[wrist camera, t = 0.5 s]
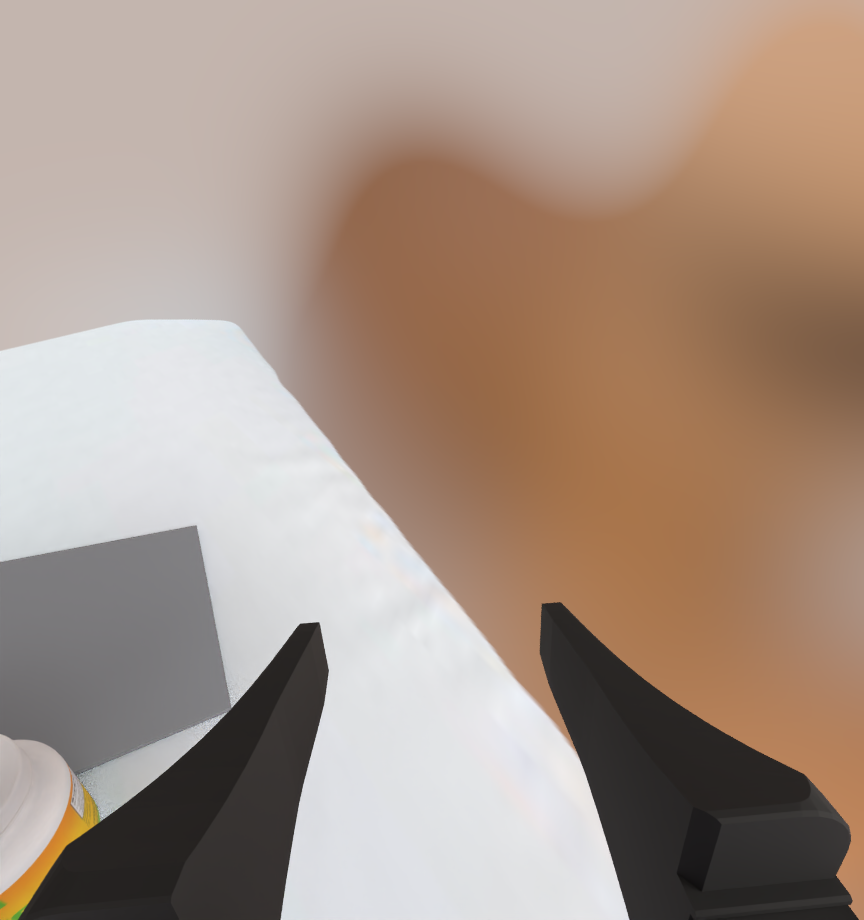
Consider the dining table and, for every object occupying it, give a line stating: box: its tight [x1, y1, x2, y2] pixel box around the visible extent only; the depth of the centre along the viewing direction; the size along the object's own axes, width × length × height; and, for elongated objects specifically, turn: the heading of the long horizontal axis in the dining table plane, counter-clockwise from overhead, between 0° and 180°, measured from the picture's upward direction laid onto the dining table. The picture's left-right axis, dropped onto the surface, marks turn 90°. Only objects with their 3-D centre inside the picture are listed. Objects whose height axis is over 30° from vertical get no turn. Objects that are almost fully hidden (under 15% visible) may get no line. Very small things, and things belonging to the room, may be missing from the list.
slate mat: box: [0, 526, 231, 775], centre depth 26 cm, size 16×18×1 cm
